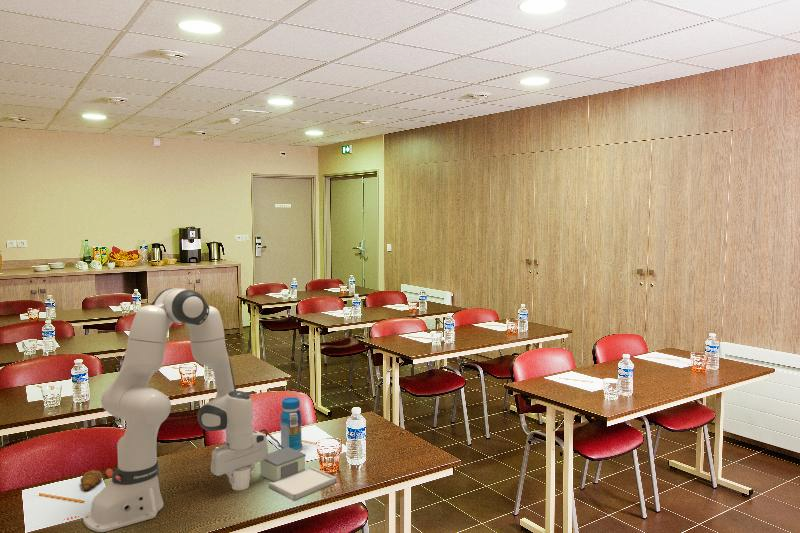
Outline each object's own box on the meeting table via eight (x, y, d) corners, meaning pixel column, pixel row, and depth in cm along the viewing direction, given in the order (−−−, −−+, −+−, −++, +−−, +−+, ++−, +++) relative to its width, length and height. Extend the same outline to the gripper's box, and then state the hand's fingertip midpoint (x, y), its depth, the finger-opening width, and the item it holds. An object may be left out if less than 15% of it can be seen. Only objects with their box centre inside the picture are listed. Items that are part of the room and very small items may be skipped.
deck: (294, 500, 191) (294, 480, 190) (250, 478, 208) (250, 459, 207) (336, 482, 204) (336, 463, 204) (292, 462, 221) (291, 445, 220)
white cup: (253, 482, 204) (253, 462, 203) (246, 491, 197) (246, 471, 197) (234, 481, 205) (234, 462, 204) (226, 490, 198) (226, 470, 197)
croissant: (97, 492, 198) (97, 477, 197) (75, 494, 196) (74, 479, 195) (107, 475, 211) (106, 461, 210) (86, 477, 209) (85, 463, 209)
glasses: (266, 439, 245) (266, 427, 245) (282, 448, 236) (282, 436, 235) (236, 447, 237) (236, 435, 237) (251, 457, 227) (251, 444, 227)
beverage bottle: (276, 452, 231) (276, 401, 229) (286, 444, 239) (285, 395, 237) (297, 454, 229) (296, 403, 227) (305, 446, 237) (305, 397, 235)
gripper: (216, 451, 190) (217, 492, 191) (270, 434, 205) (270, 473, 206) (206, 446, 194) (207, 486, 195) (259, 429, 209) (260, 467, 210)
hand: (240, 479), depth 201 cm, fingers closed on white cup, 5 cm apart
